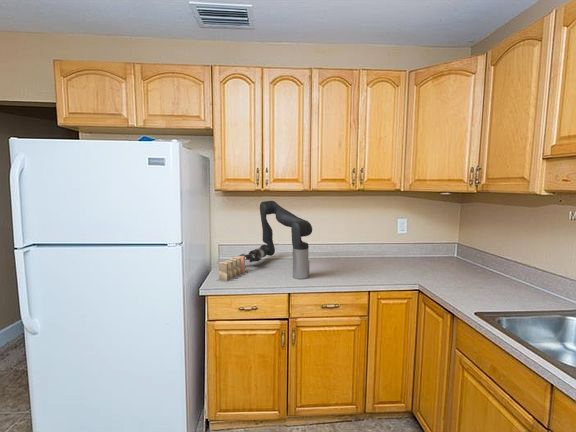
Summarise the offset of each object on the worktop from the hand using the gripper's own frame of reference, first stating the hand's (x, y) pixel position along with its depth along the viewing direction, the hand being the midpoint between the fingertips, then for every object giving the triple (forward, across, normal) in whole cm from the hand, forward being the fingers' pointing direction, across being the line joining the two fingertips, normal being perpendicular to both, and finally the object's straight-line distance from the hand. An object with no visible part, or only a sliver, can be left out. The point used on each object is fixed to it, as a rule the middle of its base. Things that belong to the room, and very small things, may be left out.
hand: (244, 260), depth 207 cm
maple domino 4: (+9, 0, +7) cm, 11 cm away
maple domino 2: (+18, 0, +7) cm, 19 cm away
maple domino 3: (+13, 0, +7) cm, 15 cm away
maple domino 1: (+22, 0, +7) cm, 23 cm away
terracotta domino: (+4, 0, +7) cm, 8 cm away
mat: (+13, 0, +7) cm, 15 cm away
